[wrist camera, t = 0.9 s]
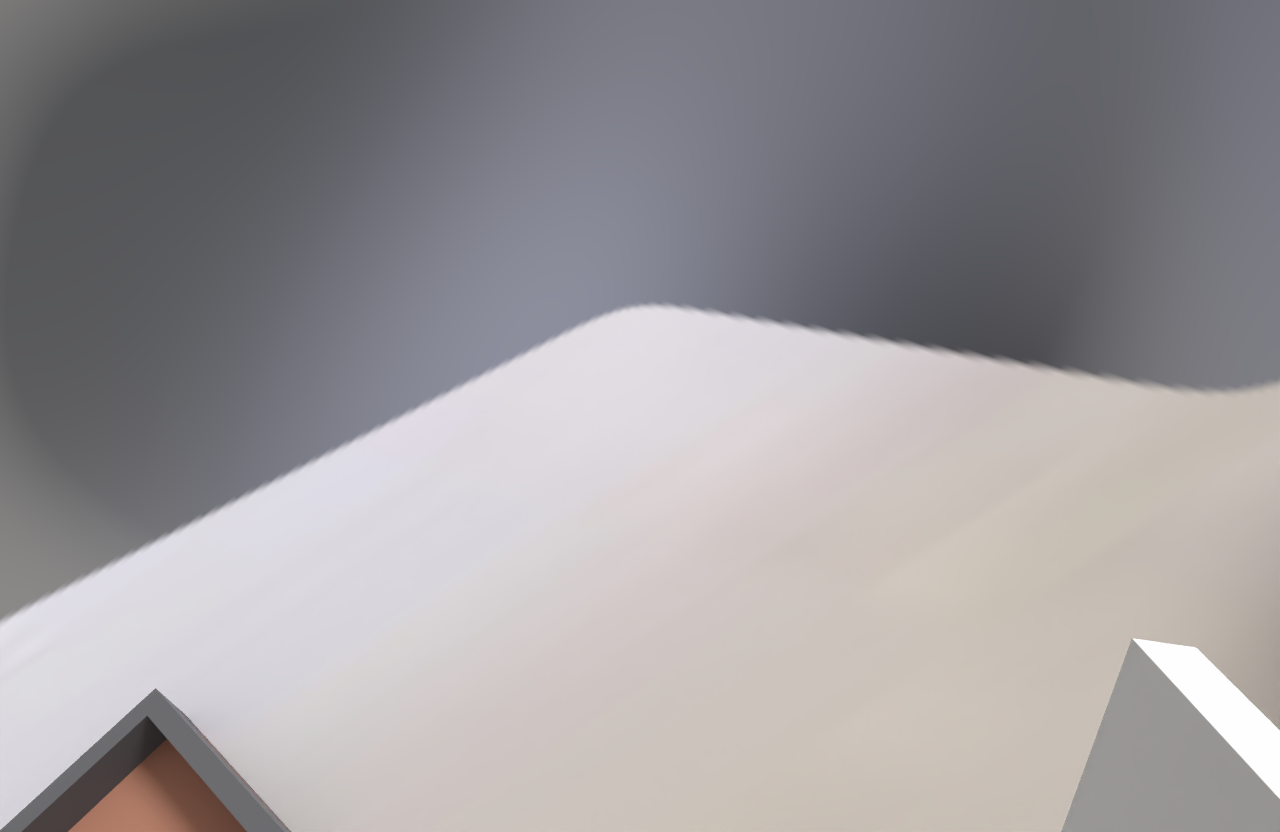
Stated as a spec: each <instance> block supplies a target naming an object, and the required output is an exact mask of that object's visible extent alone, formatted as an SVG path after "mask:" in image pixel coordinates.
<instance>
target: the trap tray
mask: <svg viewBox="0 0 1280 832" xmlns="http://www.w3.org/2000/svg"><path fill="white" fill-rule="evenodd" d="M0 832H291V831H290V830H289V829H288V828H287V827H286V826H285V825H284V824H283V822H282V821H281V820H280V819H279V818H278V817H277V816H276V815H275V814H274V812H273V811H272V810H271V809H270V808H269V807H268V806H267V805H266V804H265V803H264V801H263V800H262V799H261V798H260V797H259V796H258V795H257V794H256V793H255V791H254V790H253V789H252V788H251V787H250V786H249V785H248V784H247V783H246V781H245V780H244V779H243V778H242V777H241V776H240V775H239V774H238V773H237V772H236V770H235V769H234V768H233V767H232V766H231V765H230V764H229V763H228V762H227V760H226V759H225V758H224V757H223V756H222V755H221V754H220V753H219V752H218V751H217V749H216V748H215V747H214V746H213V745H212V744H211V743H210V742H209V741H208V739H207V738H206V737H205V736H204V735H203V734H202V733H201V732H200V731H199V729H198V728H197V727H196V726H195V725H194V724H193V723H192V722H191V721H190V720H189V718H188V717H187V716H186V715H185V714H184V713H183V712H182V711H180V710H179V709H178V708H177V707H176V706H175V705H174V704H173V703H171V702H170V701H169V700H168V699H167V698H166V697H165V696H164V695H162V694H161V693H160V692H159V691H158V690H157V689H156V688H155V689H154V690H153V691H152V692H151V693H150V694H149V695H148V696H147V697H146V698H145V699H143V700H142V701H141V702H140V703H139V704H138V705H137V706H136V707H135V708H134V709H133V710H131V711H130V712H129V713H128V714H127V715H126V716H125V717H124V718H123V719H122V720H120V721H119V722H118V723H117V724H116V725H115V726H114V727H113V728H112V729H111V730H110V731H108V732H107V733H106V734H105V735H104V736H103V737H102V738H101V739H100V740H99V741H98V742H96V743H95V744H94V745H93V746H92V747H91V748H90V749H89V750H88V751H87V752H85V753H84V754H83V755H82V756H81V757H80V758H79V759H78V760H77V761H76V762H75V763H73V764H72V765H71V766H70V767H69V768H68V769H67V770H66V771H65V772H64V773H63V774H61V775H60V776H59V777H58V778H57V779H56V780H55V781H54V782H53V783H52V784H51V785H49V786H48V787H47V788H46V789H45V790H44V791H43V792H42V793H41V794H40V795H38V796H37V797H36V798H35V799H34V800H33V801H32V802H31V803H30V804H29V805H28V806H26V807H25V808H24V809H23V810H22V811H21V812H20V813H19V814H18V815H17V816H16V817H14V818H13V819H12V820H11V821H10V822H9V823H8V824H7V825H6V826H5V827H3V828H2V829H1V830H0Z"/></svg>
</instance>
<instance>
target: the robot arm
mask: <svg viewBox="0 0 1280 832" xmlns="http://www.w3.org/2000/svg"><path fill="white" fill-rule="evenodd" d="M1062 832H1280V730H1279V729H1278V728H1277V727H1276V726H1275V725H1274V724H1273V723H1272V722H1271V721H1270V720H1269V719H1268V718H1267V717H1266V716H1265V715H1264V714H1263V713H1262V712H1261V711H1260V710H1259V709H1257V708H1256V707H1255V706H1254V705H1253V704H1252V703H1251V702H1250V701H1249V700H1248V699H1247V698H1246V697H1245V696H1244V695H1243V694H1242V693H1241V692H1240V691H1239V690H1238V689H1237V688H1236V687H1235V686H1234V685H1233V684H1232V683H1231V682H1230V681H1229V680H1228V679H1227V678H1226V677H1225V676H1224V675H1223V674H1222V673H1221V672H1220V671H1219V670H1218V669H1217V668H1216V667H1215V666H1214V665H1213V664H1212V663H1211V662H1210V661H1209V660H1208V659H1207V658H1206V657H1205V656H1204V655H1203V654H1202V653H1201V652H1200V651H1199V650H1198V649H1197V648H1195V647H1188V646H1181V645H1174V644H1168V643H1161V642H1154V641H1147V640H1140V639H1133V638H1132V640H1131V643H1130V646H1129V648H1128V651H1127V654H1126V656H1125V659H1124V662H1123V665H1122V667H1121V670H1120V673H1119V676H1118V678H1117V681H1116V684H1115V687H1114V689H1113V692H1112V695H1111V698H1110V700H1109V703H1108V706H1107V708H1106V711H1105V714H1104V717H1103V719H1102V722H1101V725H1100V728H1099V730H1098V733H1097V736H1096V739H1095V741H1094V744H1093V747H1092V749H1091V752H1090V755H1089V758H1088V760H1087V763H1086V766H1085V769H1084V771H1083V774H1082V777H1081V780H1080V782H1079V785H1078V788H1077V791H1076V793H1075V796H1074V799H1073V801H1072V804H1071V807H1070V810H1069V812H1068V815H1067V818H1066V821H1065V823H1064V826H1063V829H1062Z"/></svg>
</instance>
